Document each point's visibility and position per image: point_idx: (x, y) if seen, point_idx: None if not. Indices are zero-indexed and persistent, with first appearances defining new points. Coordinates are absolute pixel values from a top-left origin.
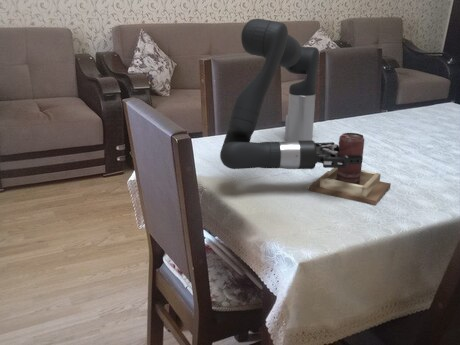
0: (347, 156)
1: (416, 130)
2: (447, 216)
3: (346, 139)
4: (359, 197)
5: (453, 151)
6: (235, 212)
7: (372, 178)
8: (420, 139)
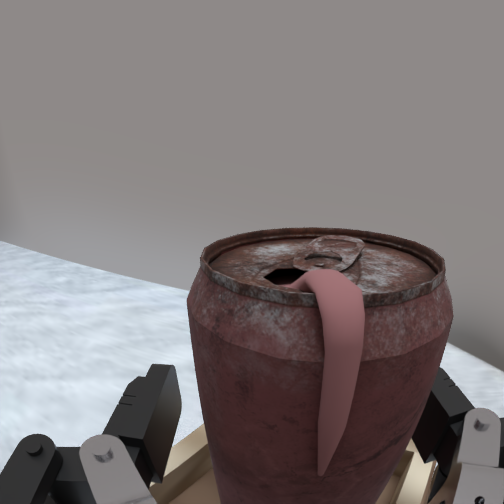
0: (492, 411)
1: (8, 270)
2: None
3: (441, 300)
4: (429, 485)
5: (99, 270)
6: None
7: None
8: (33, 277)
